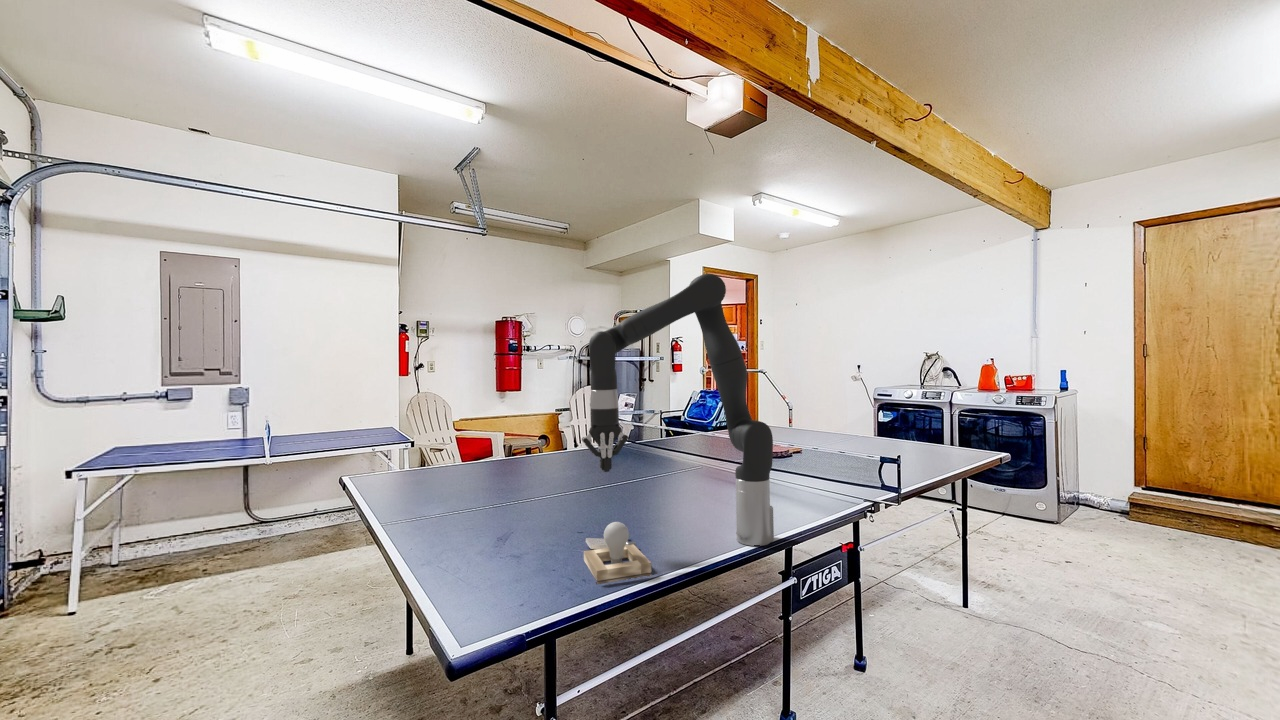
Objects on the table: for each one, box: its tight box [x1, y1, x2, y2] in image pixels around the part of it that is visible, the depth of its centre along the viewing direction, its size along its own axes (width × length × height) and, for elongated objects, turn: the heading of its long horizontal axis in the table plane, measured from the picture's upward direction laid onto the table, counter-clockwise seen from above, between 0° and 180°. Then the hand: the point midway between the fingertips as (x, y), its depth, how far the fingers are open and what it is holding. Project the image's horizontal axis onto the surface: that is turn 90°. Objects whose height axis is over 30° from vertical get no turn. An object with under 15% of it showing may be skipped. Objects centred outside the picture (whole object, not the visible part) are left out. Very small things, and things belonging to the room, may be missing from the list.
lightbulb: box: [603, 521, 630, 564], centre depth 120 cm, size 6×6×11 cm
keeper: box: [585, 537, 630, 550], centre depth 132 cm, size 12×6×1 cm, turn 109°
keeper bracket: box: [628, 541, 637, 547], centre depth 134 cm, size 2×9×2 cm, turn 19°
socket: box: [583, 544, 652, 585], centre depth 119 cm, size 13×13×3 cm
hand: (605, 471), depth 133 cm, fingers closed
